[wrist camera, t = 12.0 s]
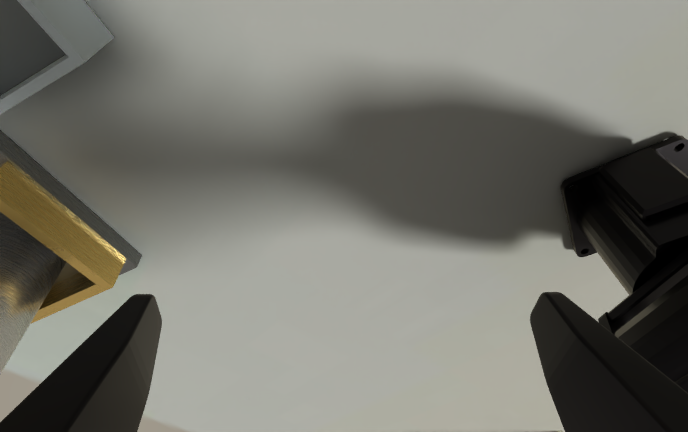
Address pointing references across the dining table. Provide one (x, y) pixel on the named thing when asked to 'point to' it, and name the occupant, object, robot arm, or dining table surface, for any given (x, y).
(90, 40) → the grey square dish
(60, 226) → the gold holder tray
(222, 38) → the dining table surface
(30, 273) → the billet
